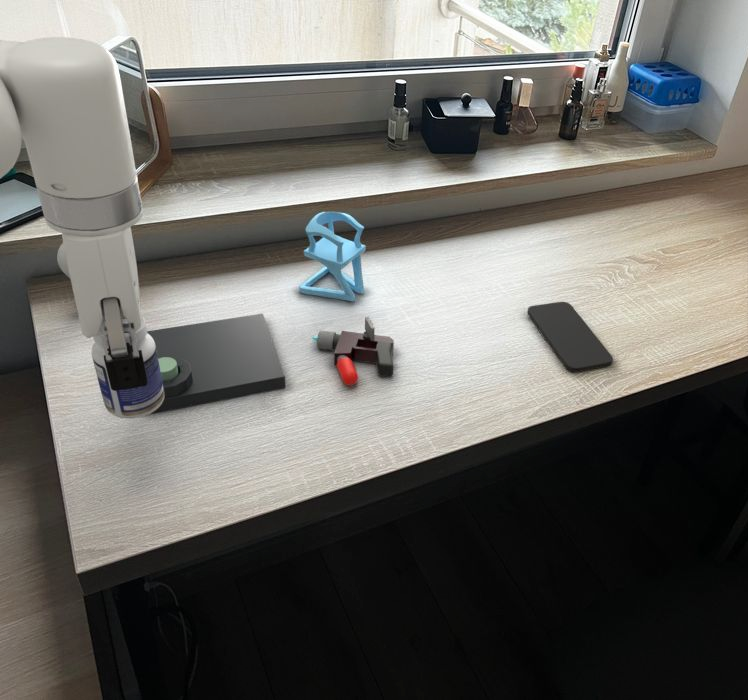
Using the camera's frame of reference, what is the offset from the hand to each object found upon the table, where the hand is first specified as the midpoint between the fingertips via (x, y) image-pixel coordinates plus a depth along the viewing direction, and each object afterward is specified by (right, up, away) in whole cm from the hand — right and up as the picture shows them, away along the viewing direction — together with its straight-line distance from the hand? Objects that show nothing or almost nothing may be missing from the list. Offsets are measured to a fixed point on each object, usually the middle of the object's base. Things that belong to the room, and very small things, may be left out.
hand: (127, 364), depth 71 cm
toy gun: (+18, -1, +25) cm, 31 cm away
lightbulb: (-18, +7, +29) cm, 35 cm away
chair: (+14, +11, +39) cm, 42 cm away
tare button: (-3, -1, +16) cm, 16 cm away
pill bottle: (-1, -4, +3) cm, 5 cm away
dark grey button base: (0, -1, +22) cm, 22 cm away
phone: (+48, +3, +35) cm, 60 cm away
